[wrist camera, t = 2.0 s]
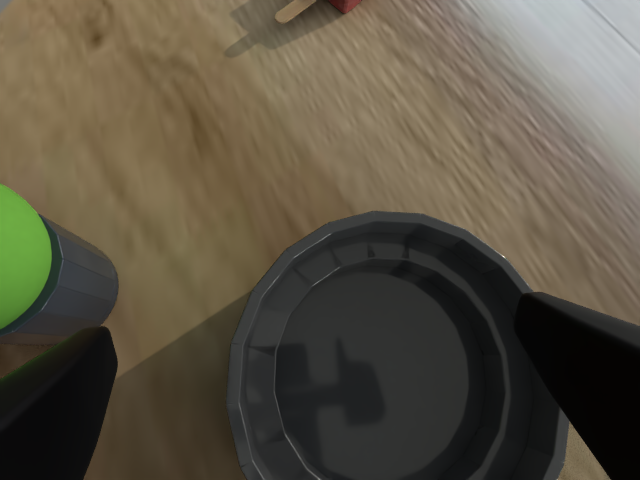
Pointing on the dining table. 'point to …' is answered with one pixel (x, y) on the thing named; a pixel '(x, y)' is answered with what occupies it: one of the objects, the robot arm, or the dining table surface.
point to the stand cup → (67, 293)
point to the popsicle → (344, 3)
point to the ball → (21, 256)
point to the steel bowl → (389, 361)
